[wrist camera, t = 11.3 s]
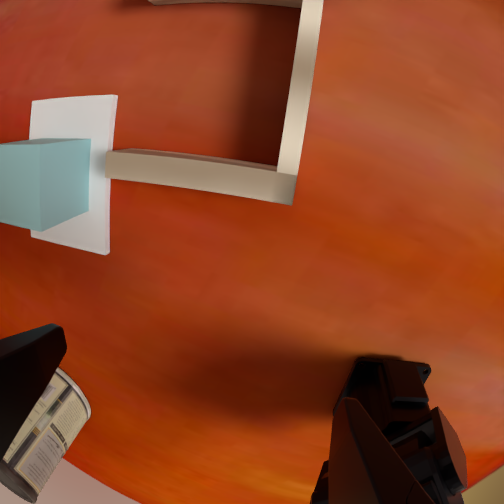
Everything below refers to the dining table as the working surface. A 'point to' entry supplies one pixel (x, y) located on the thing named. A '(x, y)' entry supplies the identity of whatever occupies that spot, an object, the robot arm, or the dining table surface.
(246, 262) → the dining table surface
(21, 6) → the dining table surface
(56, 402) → the coffee can
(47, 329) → the robot arm
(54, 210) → the teal cube
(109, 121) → the white flat slab
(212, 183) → the birch cubby
